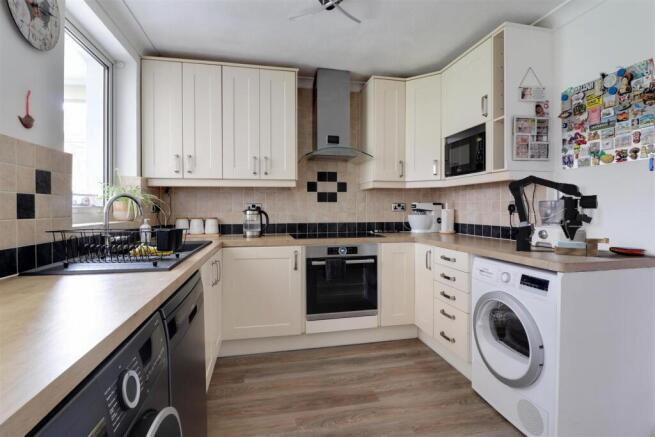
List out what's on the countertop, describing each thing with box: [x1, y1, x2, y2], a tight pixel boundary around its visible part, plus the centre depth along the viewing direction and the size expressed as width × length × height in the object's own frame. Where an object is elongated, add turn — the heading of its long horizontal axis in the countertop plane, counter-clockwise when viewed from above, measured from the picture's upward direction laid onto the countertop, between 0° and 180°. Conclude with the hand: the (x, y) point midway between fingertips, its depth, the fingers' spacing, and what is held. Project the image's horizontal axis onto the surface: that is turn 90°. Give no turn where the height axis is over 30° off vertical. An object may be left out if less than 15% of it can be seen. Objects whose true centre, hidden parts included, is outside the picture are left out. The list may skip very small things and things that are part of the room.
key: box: [586, 237, 610, 244], centre depth 154 cm, size 8×3×2 cm, turn 63°
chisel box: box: [554, 237, 599, 258], centre depth 158 cm, size 16×6×8 cm, turn 63°
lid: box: [554, 240, 586, 248], centre depth 159 cm, size 11×7×2 cm, turn 63°
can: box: [568, 228, 587, 243], centre depth 173 cm, size 8×8×12 cm
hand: (569, 239), depth 159 cm, fingers open, 9 cm apart
